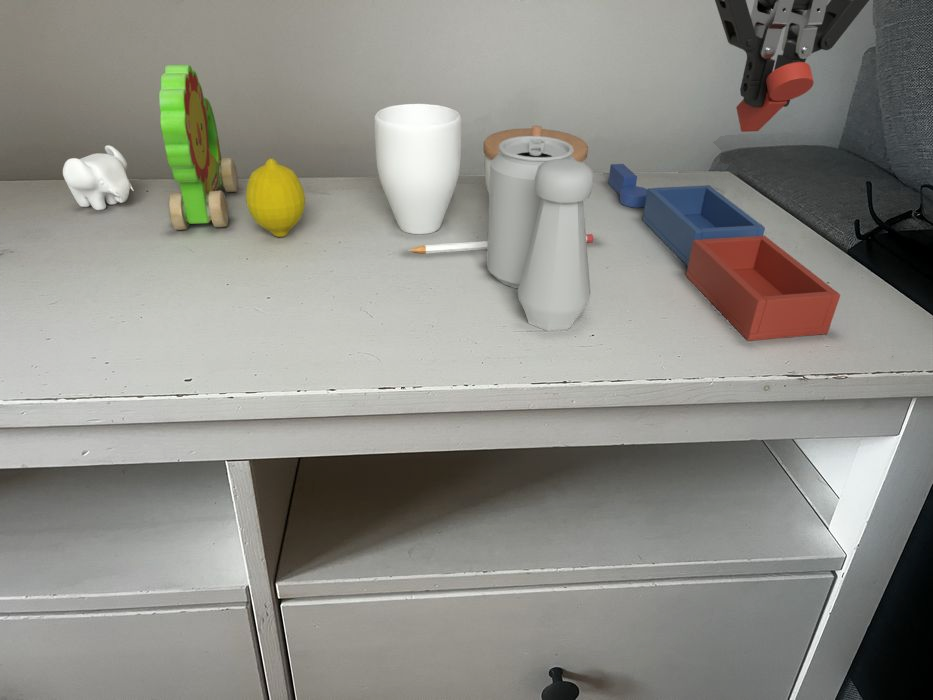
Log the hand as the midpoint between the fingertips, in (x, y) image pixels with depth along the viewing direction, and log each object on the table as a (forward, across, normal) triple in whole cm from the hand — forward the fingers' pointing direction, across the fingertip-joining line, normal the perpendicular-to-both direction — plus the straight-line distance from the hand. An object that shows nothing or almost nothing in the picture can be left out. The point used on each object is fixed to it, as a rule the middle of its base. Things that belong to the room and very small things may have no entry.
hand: (765, 104), depth 59 cm
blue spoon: (+15, -2, +20) cm, 25 cm away
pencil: (+15, -20, +8) cm, 26 cm away
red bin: (+15, -1, -6) cm, 16 cm away
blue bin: (+15, 0, +7) cm, 17 cm away
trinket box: (+15, -15, +16) cm, 27 cm away
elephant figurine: (+16, -60, +24) cm, 67 cm away
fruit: (+16, -41, +13) cm, 46 cm away
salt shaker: (+15, -19, -6) cm, 25 cm away
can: (+15, -19, +2) cm, 24 cm away
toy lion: (+16, -49, +20) cm, 55 cm away
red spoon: (0, 0, -2) cm, 2 cm away
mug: (+15, -27, +16) cm, 35 cm away
